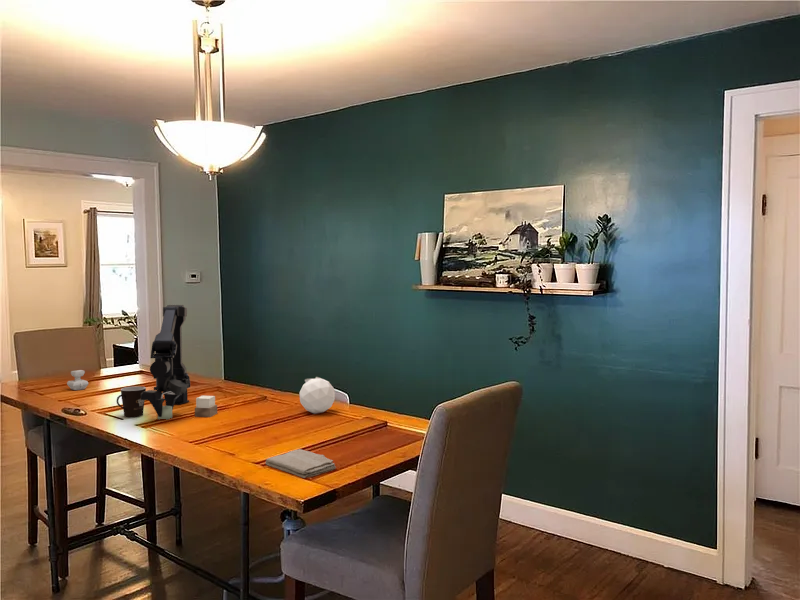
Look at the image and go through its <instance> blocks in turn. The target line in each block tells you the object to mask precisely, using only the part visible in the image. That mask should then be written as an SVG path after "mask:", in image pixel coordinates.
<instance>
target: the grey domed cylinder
mask: <svg viewBox="0 0 800 600" xmlns="http://www.w3.org/2000/svg"><path fill="white" fill-rule="evenodd" d="M170 418H171V419H173V410H172V406H166V405H163V407H162V417H159V416H158V415H157V420H160V419H166V420H171V419H170Z"/></svg>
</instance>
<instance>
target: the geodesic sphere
mask: <svg viewBox="0 0 800 600" xmlns="http://www.w3.org/2000/svg"><path fill="white" fill-rule="evenodd" d="M304 382H305V383H304V384H303V385H302V387H301V389H300V391H299V402H300V404H301V405H302V407H303V408H304V409H305V410H306V411H307V412H310V413H311V414H320V413H324V412H326V411H327V410H329V409H330V408H331V407H332V406H333V405H334V404H333V403H334V402H335V400H336V399H335V398H336V395H335V394H336V393H335V388H334V386H332V384H331V383H330V381H328V380H326V379H324V378H321V377H319V376H315V378H305V379H304Z"/></svg>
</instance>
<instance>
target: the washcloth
mask: <svg viewBox="0 0 800 600" xmlns="http://www.w3.org/2000/svg"><path fill="white" fill-rule="evenodd" d="M264 463H265V465H266V466H269V467H271V468H274V469H277V470H279V471H280V470H281V471H283V472H286V473H289V474H292V475H294V476H297V477H300V478H303V479H306V478H309V477H314V476H318V475H321V474H323V473H327V472H331V471H334V470H336V468H337V466H336V463H335V462H334V460H333V459H330V458H327V457H326V456H325V455H324V454H319V453H314V452H313V451H309V450H304V449H302V448H301V449H300V448H299V449H294V450H292V451H288V452H286V453H283V454H278V455H275V456H271V457H268V458H266V459H265V462H264Z"/></svg>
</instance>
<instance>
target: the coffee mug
mask: <svg viewBox="0 0 800 600" xmlns="http://www.w3.org/2000/svg"><path fill="white" fill-rule="evenodd" d="M144 391H147V387H145V386H125V387H122V388H121V389H120V395H118V396H117V398H116V404H117V406H118V407H120V408H121V409H122V410H123V415H124V417H125V418H139V417H143V415H144V410H145V409H144V408H145V401H146V400H141V393H142V392H144ZM120 398H121V402H122V405H121V404H120V403H119V399H120Z"/></svg>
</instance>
